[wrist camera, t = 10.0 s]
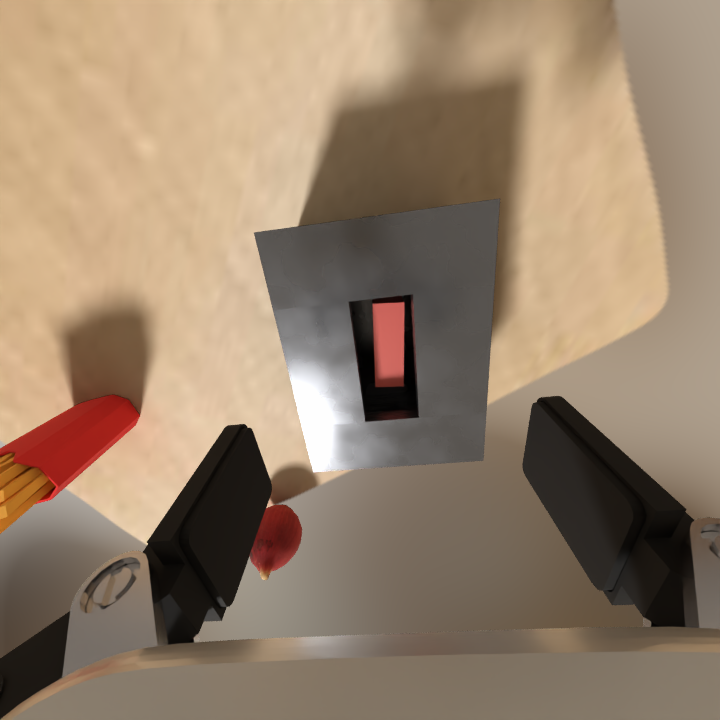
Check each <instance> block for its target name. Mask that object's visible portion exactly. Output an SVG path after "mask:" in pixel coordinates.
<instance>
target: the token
mask: <svg viewBox="0 0 720 720" xmlns="http://www.w3.org/2000/svg"><path fill="white" fill-rule="evenodd" d="M372 305H373V333H374V362H375V387H396V386H404V300H403V298H402V296H394V297H385V298H376V299H372Z"/></svg>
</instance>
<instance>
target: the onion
mask: <svg viewBox="0 0 720 720" xmlns="http://www.w3.org/2000/svg"><path fill="white" fill-rule="evenodd" d="M301 536H302V527H301V524H300V522H299V519H298V516H297V515H296V514H295V513H294V512H293V510H292V509H291V508H289V507H288V506H286V505H273V506H271V507H268V508H266V510H265V512H264V515H263V518H262V521H261V524H260V527H259V530H258V532H257V535H256V538H255V541H254V544H253V547H252V550H251V553H250V555H249V556H250V559H251V562H252V563H253V564H254V565H255V566H256V567H257V569H258V571H259V572H260V575H261V578H262V579H263V580H267V579H268V577H269V575H270V572H271V571H274V570H277V569H278V568H280V567H282V566H284V565H285V564H286V563H287V562H288V561H289V560H290V559H291V558H292V557H293V556H294V555H295V553H296V551H297V550H298V547H299V544H300V542H301Z"/></svg>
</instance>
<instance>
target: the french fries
mask: <svg viewBox="0 0 720 720" xmlns="http://www.w3.org/2000/svg"><path fill="white" fill-rule="evenodd" d="M139 417H140V415H139V414H138V412H137V411H136V409H135V408H134V406H133V405H132V404H131V402H130V401H129V400H128V399H125V398H122V397H119V396H116V395H109V396H104V397H100V398H96V399H92V400H89V401H86V402H83V403H80V404H77V405H76V406H74V407H72V408H70V409H68V410H67V411H65V412H63V413H61V414H60V415H58V416H56V417H54V418H53V419H51V420H49V421H47V422H46V423H44V424H42V425H40V426H39V427H37V428H35V429H33V430H32V431H30V432H28V433H26V434H25V435H23V436H21V437H19V438H18V439H16V440H14V441H12V442H11V443H9V444H7V445H5V446H4V447H2V448H0V534H1V533H2V532H3V531H4V530H5V529H7V528H8V527H9V526H10V525H11V524H12V523H13V522H15V521H16V520H17V519H18V518H19V517H20V516H22V515H23V514H24V513H25V512H26V511H27V510H28V509H29V508H31V507H32V506H33V505H34V504H37V503H41V502H45V501H48V500H51V499H53V498H54V497H55V496H56V495H57V494H58V493H59V492H60V491H62V490H63V489H64V488H65V487H66V486H67V485H68V484H70V483H71V482H72V481H73V480H74V479H75V478H76V477H77V476H79V475H80V474H81V473H82V472H83V471H84V470H85V469H87V468H88V467H89V466H90V465H91V464H92V463H93V462H94V461H96V460H97V459H98V458H99V457H100V456H101V455H102V454H104V453H105V452H106V451H107V450H108V449H109V448H110V447H111V446H113V445H114V444H115V443H116V442H117V441H118V440H119V439H121V438H122V437H123V436H124V435H125V434H126V433H127V432H128V431H130V430H131V429H132V428H133V427H134V426H135V425H136V423H137V421H138V419H139Z"/></svg>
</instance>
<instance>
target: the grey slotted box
mask: <svg viewBox="0 0 720 720" xmlns="http://www.w3.org/2000/svg"><path fill="white" fill-rule="evenodd" d="M499 207H500V199H494V200H487V201H479V202H472V203H465V204H458V205H450V206H443V207H436V208H429V209H421V210H414V211H407V212H400V213H392V214H385V215H378V216H371V217H364V218H356V219H349V220H342V221H335V222H327V223H320V224H313V225H306V226H298V227H291V228H284V229H277V230H270V231H262V232H255V233H254V235H255V239H256V243H257V247H258V251H259V255H260V259H261V263H262V267H263V271H264V275H265V279H266V283H267V288H268V292H269V296H270V300H271V304H272V308H273V312H274V316H275V320H276V324H277V328H278V332H279V336H280V340H281V344H282V348H283V352H284V356H285V360H286V364H287V368H288V372H289V376H290V380H291V384H292V388H293V392H294V396H295V400H296V404H297V408H298V412H299V416H300V421H301V425H302V429H303V433H304V437H305V441H306V445H307V449H308V453H309V457H310V461H311V465H312V469H313V472H323V471H338V470H352V469H366V468H382V467H397V466H411V465H426V464H441V463H455V462H469V461H483V458H484V442H485V426H486V410H487V395H488V379H489V364H490V348H491V332H492V317H493V301H494V285H495V270H496V254H497V238H498V223H499ZM394 296H402V298H403V300H404V386H396V387H375V362H374V333H373V305H372V299H376V298H385V297H394Z"/></svg>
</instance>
